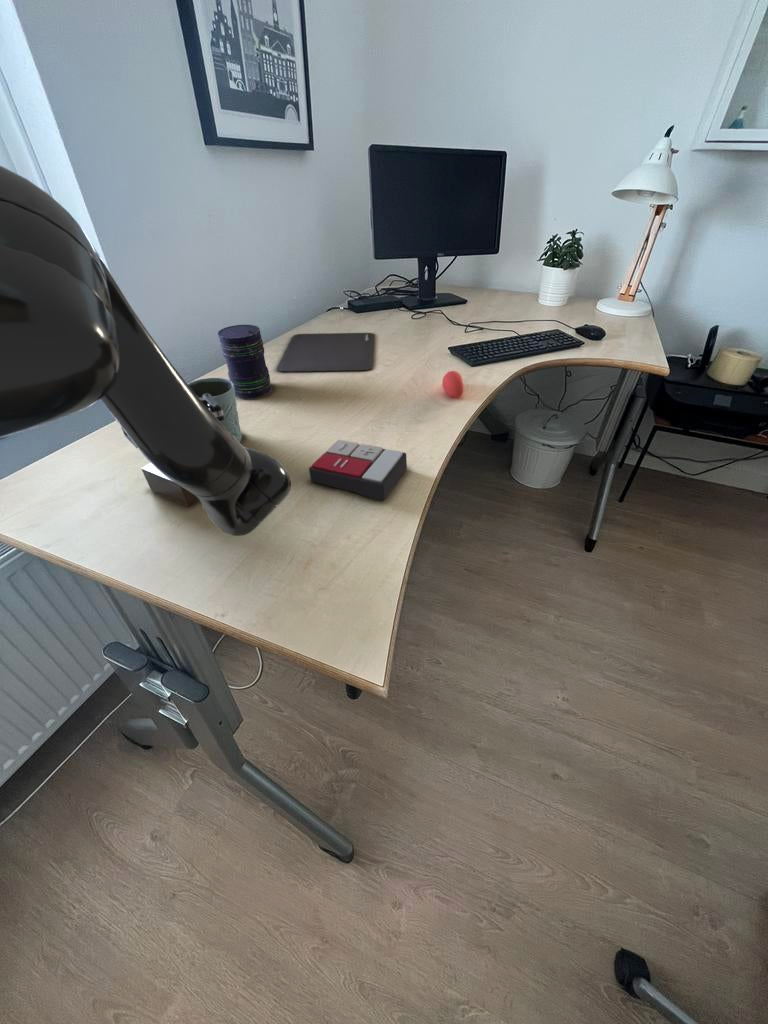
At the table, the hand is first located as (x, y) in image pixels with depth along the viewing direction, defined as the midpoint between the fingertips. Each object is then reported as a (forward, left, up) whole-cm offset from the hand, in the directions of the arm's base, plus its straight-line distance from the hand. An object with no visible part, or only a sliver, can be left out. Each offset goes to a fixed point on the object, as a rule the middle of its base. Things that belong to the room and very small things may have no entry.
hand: (158, 403), depth 72 cm
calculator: (+28, -16, -16) cm, 36 cm away
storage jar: (+22, +32, -16) cm, 42 cm away
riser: (0, -2, -16) cm, 16 cm away
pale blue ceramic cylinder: (+9, +11, -16) cm, 21 cm away
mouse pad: (+51, +47, -16) cm, 71 cm away
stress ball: (+65, +4, -16) cm, 67 cm away
